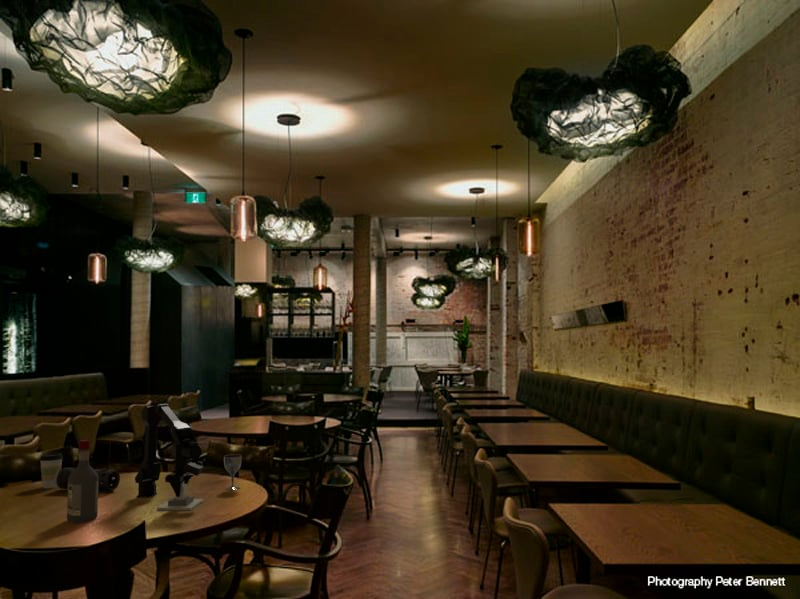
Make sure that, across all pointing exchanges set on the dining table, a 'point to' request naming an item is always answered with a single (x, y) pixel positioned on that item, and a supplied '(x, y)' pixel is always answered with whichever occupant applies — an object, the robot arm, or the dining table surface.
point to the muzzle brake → (103, 480)
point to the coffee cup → (50, 468)
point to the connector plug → (182, 492)
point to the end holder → (180, 504)
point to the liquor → (82, 489)
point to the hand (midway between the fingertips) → (181, 495)
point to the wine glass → (232, 467)
